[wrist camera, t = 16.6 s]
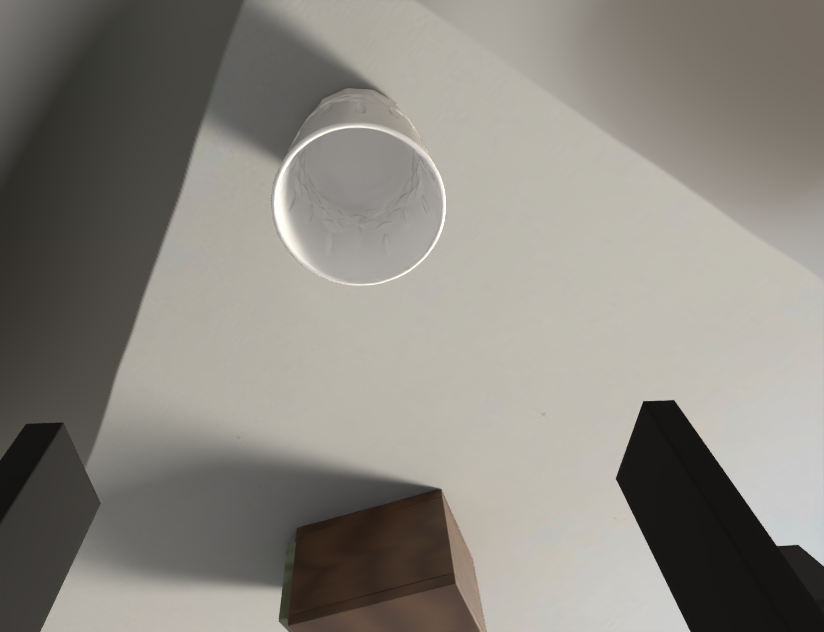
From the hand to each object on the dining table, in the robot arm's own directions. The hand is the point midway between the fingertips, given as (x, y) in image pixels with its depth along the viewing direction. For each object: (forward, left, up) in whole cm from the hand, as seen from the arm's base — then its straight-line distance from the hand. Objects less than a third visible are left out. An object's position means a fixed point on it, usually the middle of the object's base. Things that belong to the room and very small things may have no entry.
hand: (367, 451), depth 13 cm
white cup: (0, 0, -24) cm, 24 cm away
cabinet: (+41, +2, -24) cm, 48 cm away
